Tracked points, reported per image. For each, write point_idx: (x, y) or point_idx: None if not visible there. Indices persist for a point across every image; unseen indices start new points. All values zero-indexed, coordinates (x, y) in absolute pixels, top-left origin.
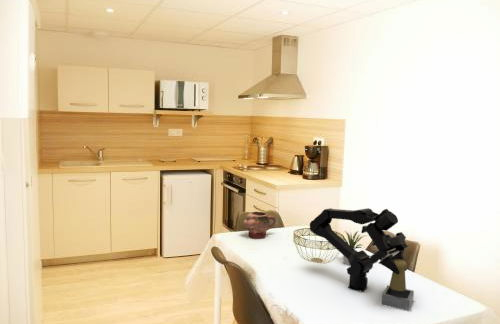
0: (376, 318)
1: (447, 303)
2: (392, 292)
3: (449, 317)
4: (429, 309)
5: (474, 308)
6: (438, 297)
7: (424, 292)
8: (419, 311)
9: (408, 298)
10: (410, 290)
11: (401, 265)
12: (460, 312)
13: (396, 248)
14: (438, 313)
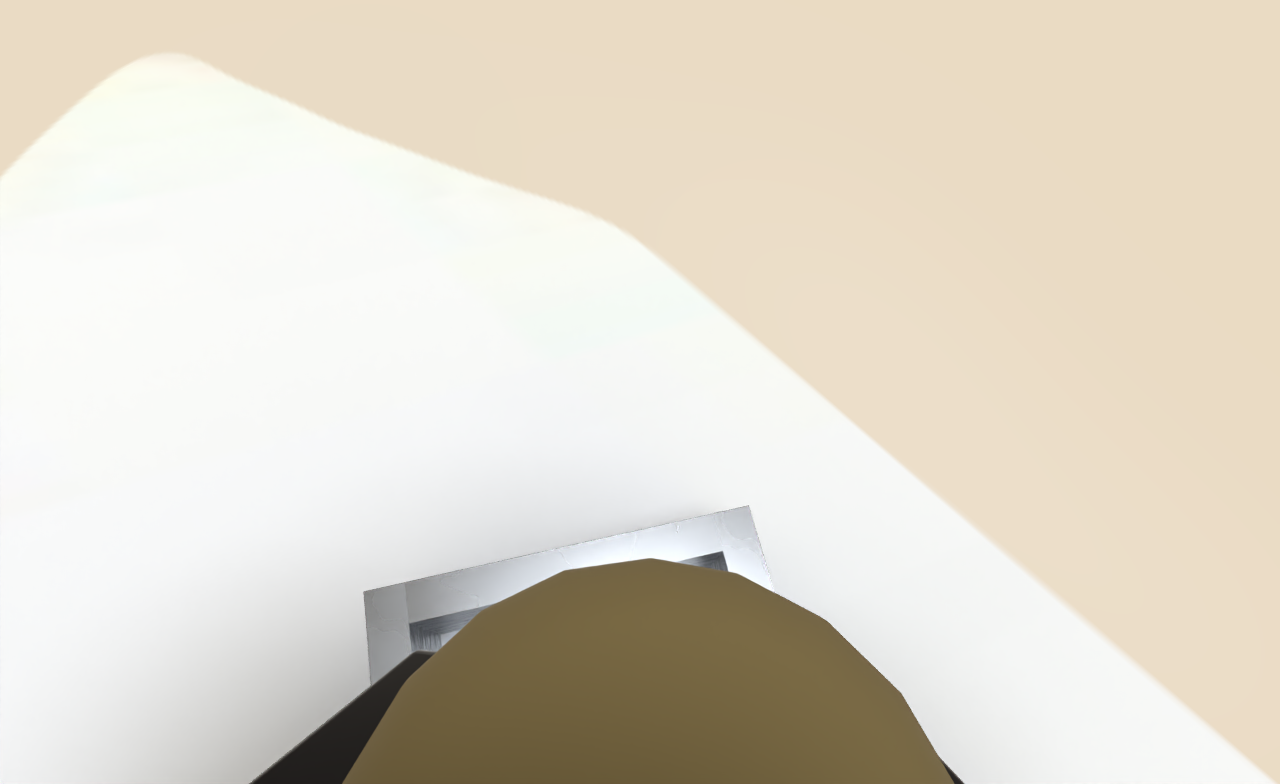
0: (1202, 750)
1: (232, 304)
2: None
3: (558, 215)
4: (514, 391)
5: (205, 113)
6: (108, 417)
7: (26, 597)
8: (640, 451)
9: (695, 544)
10: (384, 636)
11: (884, 678)
12: (379, 175)
13: None
14: (545, 303)
